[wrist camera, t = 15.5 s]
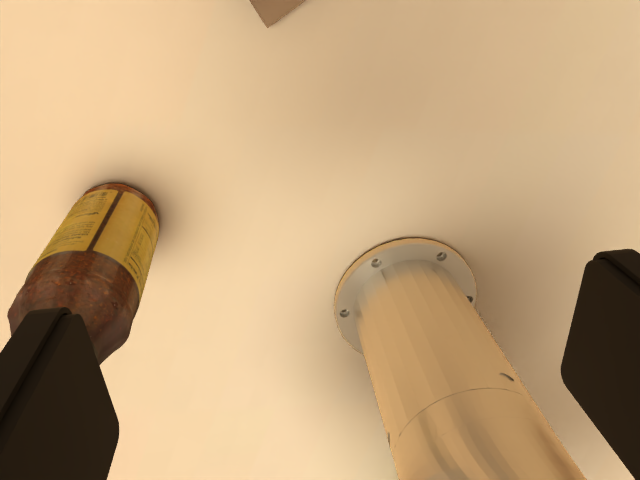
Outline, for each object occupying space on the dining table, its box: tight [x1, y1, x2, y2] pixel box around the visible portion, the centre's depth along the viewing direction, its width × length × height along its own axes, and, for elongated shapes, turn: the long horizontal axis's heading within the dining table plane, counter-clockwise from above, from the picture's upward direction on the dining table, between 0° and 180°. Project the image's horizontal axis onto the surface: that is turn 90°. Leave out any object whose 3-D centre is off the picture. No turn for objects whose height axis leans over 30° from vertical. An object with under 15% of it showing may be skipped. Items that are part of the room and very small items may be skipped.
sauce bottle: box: [7, 183, 159, 365], centre depth 29 cm, size 7×6×20 cm
